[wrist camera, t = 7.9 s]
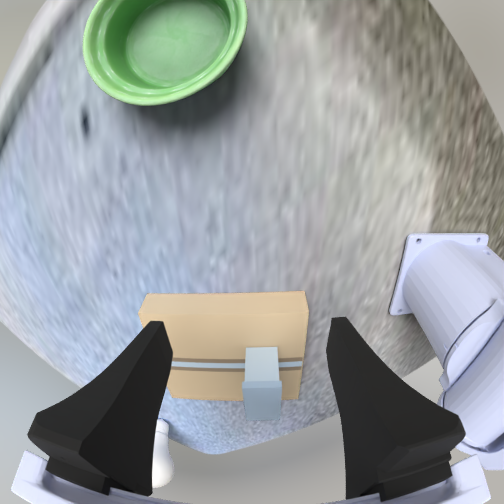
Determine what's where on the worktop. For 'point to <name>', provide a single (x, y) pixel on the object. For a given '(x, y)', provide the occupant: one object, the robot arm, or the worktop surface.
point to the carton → (229, 339)
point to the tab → (262, 384)
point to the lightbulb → (161, 456)
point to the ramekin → (161, 46)
